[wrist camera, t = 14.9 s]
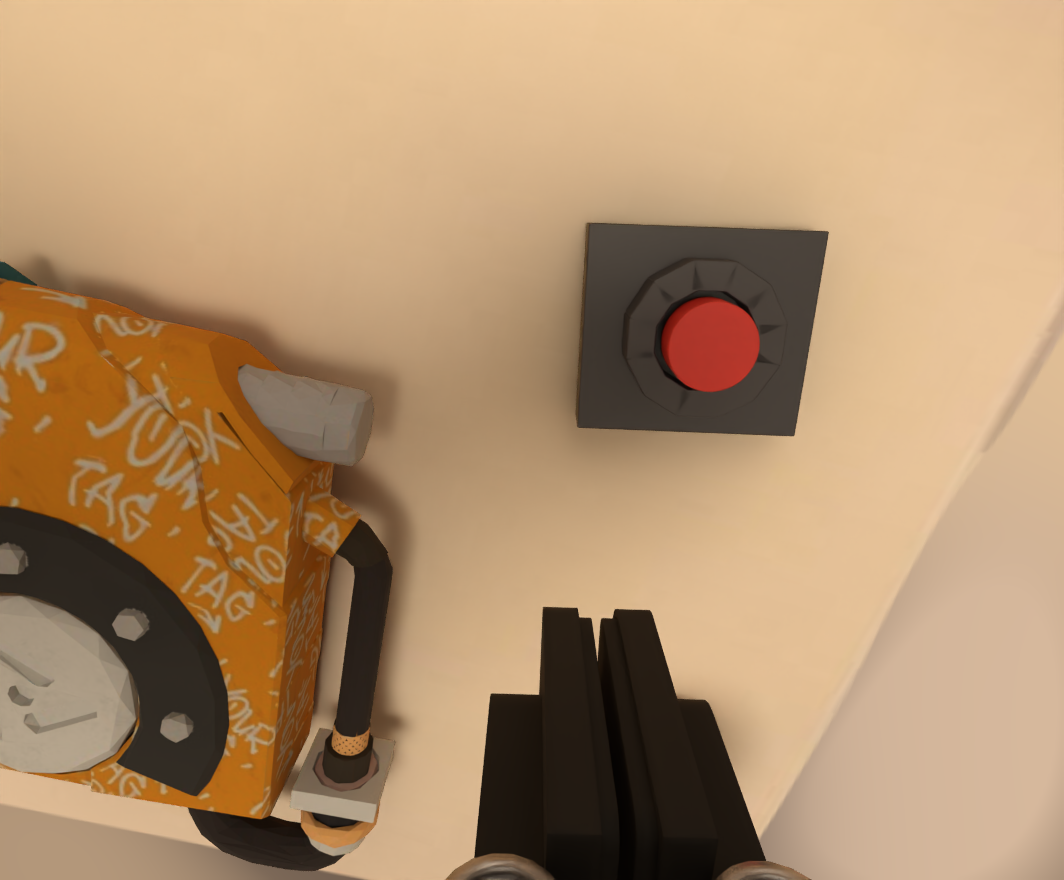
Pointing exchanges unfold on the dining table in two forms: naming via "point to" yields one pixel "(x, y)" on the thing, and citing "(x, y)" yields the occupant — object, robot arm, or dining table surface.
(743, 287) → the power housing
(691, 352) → the power button
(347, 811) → the device
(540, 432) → the dining table surface
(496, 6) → the dining table surface
